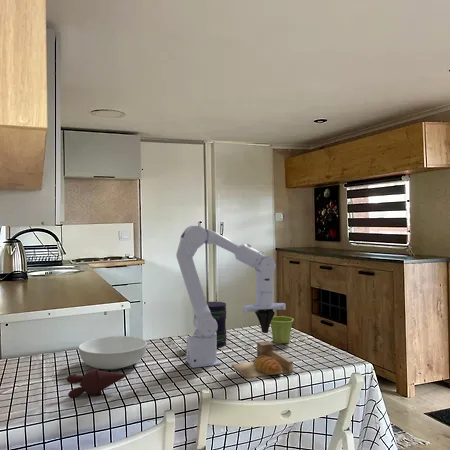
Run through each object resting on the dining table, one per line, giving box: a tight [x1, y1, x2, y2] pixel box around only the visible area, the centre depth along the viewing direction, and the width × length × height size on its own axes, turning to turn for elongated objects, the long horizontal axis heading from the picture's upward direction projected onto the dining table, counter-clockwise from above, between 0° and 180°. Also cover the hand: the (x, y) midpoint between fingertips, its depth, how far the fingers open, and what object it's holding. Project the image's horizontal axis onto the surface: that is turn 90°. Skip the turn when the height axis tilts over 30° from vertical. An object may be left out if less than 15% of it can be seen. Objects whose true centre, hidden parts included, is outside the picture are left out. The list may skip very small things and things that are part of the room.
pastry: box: [253, 355, 282, 375], centre depth 130 cm, size 9×7×4 cm
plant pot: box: [270, 315, 294, 345], centre depth 164 cm, size 9×9×9 cm
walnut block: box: [256, 340, 274, 358], centre depth 144 cm, size 4×4×5 cm
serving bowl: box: [78, 335, 148, 371], centre depth 138 cm, size 21×21×7 cm
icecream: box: [65, 367, 127, 399], centre depth 114 cm, size 7×7×15 cm
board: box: [231, 350, 294, 379], centre depth 133 cm, size 15×12×3 cm
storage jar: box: [206, 301, 227, 348], centre depth 161 cm, size 10×10×15 cm
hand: (264, 332), depth 144 cm, fingers closed
